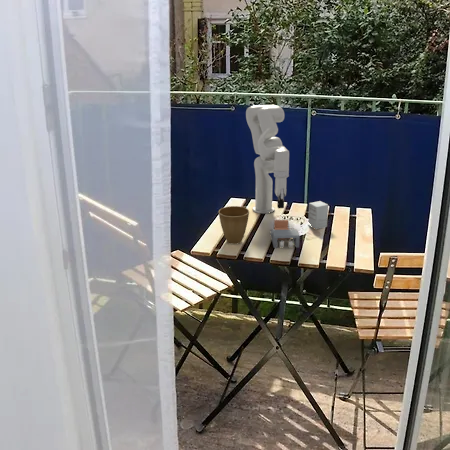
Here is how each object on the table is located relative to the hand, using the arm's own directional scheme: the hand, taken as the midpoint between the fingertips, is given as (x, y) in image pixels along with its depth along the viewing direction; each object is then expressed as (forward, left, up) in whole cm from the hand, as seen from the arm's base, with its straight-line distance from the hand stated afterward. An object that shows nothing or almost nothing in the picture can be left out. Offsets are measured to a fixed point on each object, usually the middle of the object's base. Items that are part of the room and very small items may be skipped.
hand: (280, 207), depth 292 cm
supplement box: (-1, +20, -11) cm, 23 cm away
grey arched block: (+11, 0, -11) cm, 16 cm away
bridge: (+18, 0, -11) cm, 21 cm away
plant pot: (+18, -25, -11) cm, 33 cm away
